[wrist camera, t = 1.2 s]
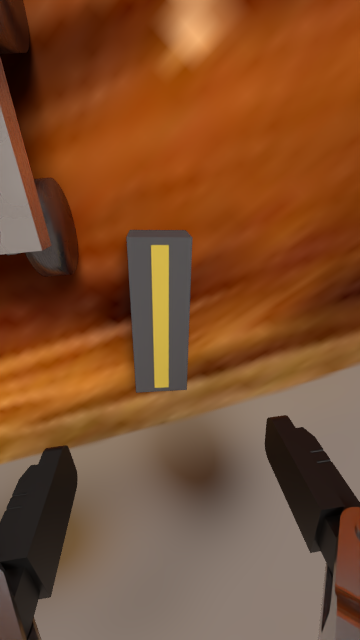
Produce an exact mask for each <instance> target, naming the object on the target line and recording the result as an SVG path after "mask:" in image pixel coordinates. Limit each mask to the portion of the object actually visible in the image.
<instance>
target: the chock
mask: <svg viewBox="0 0 360 640" xmlns="http://www.w3.org/2000/svg"><path fill="white" fill-rule="evenodd" d="M127 252H128V268H129V285H130V301H131V317H132V333H133V350H134V366H135V382H136V392H154V391H173V390H187V365H188V338H189V311H190V284H191V257H192V237H191V236H190V235H189V234H188V232H187V231H186V230H130V231H129V233H128V235H127Z"/></svg>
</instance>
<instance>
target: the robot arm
mask: <svg viewBox="0 0 360 640" xmlns="http://www.w3.org/2000/svg"><path fill="white" fill-rule="evenodd" d="M265 450H266V455H267V458H268V460H269V463H270V465H271V467H272V469H273V471H274V473H275V476H276V478H277V480H278V482H279V485H280V487H281V489H282V491H283V493H284V496H285V498H286V500H287V502H288V504H289V507H290V509H291V511H292V513H293V515H294V518H295V520H296V522H297V524H298V526H299V529H300V531H301V533H302V535H303V538H304V540H305V542H306V544H307V546H308V549H309V551H310V553H312V552H317V551H321V552H322V554H323V556H324V558H325V561H326V567H325V578H324V588H323V597H322V608H321V617H320V627H319V636H318V640H360V502H359V501H358V499H357V498H356V496H355V495H354V493H353V492H352V491H351V489H350V488H349V486H348V485H347V483H346V482H345V480H344V479H343V477H342V476H341V474H340V473H339V471H338V470H337V469H336V467H335V466H334V465H333V463H332V462H331V461H330V458H329V457H328V456H327V454H326V453H325V452H324V451H323V448H322V447H321V445H320V444H319V442H318V441H317V439H316V438H315V437H314V436H313V435H312V434H311V433H309V432H308V431H307V430H306V429H304V428H303V427H301V428H295V426H294V425H293V423H292V422H291V420H290V419H289V417H288V416H286V415H284V416H278V417H270V418H268V419H267V424H266V435H265ZM76 488H77V470H76V467H75V465H74V462H73V459H72V456H71V453H70V450H69V448H68V446H66V445H65V446H58V447H51V448H46V449H45V450H44V452H43V454H42V456H41V459H40V462H39V464H38V465H31V466H30V467H29V468H28V469H27V471H26V472H25V473H24V474H23V475H22V477H21V478H20V479H19V481H18V483H17V485H16V488H15V490H14V493H13V495H12V498H11V499H10V501H9V504H8V506H7V510H6V511H5V513H4V515H3V517H2V519H1V522H0V640H41V637H40V634H39V631H38V628H37V625H36V622H35V619H34V614H35V610H36V606H37V602H38V599H42V598H49V597H51V594H52V589H53V585H54V581H55V577H56V572H57V568H58V564H59V559H60V556H61V552H62V547H63V543H64V539H65V535H66V530H67V526H68V522H69V518H70V513H71V509H72V505H73V501H74V497H75V492H76Z"/></svg>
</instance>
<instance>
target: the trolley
mask: <svg viewBox="0 0 360 640" xmlns="http://www.w3.org/2000/svg"><path fill="white" fill-rule="evenodd" d="M28 49H29V30H28V23H27V17H26V12H25V7H24V3H23V0H0V54H9V53H26V52H27V51H28ZM23 252H25V254H26V256H27V258H28V260H29V261H30V263H31V264H32V266H33V267H34V268H35V270H36V271H37V272H38V273H39V274H41V275H43V276H46V277H48V276H58V275H68V274H73V273H74V272H75V270H76V267H77V263H78V244H77V236H76V230H75V225H74V221H73V217H72V214H71V210H70V207H69V205H68V202H67V199H66V197H65V195H64V193H63V191H62V189H61V187H60V186H59V184H58V183H57V182H56V181H55V180H54V179H53V178H41V179H33V175H32V172H31V168H30V164H29V161H28V157H27V153H26V150H25V146H24V142H23V139H22V135H21V131H20V128H19V124H18V120H17V117H16V113H15V109H14V106H13V102H12V98H11V95H10V91H9V87H8V84H7V80H6V76H5V73H4V69H3V65H2V62H1V58H0V255H2V254H7V255H14V254H19V253H23Z"/></svg>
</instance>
